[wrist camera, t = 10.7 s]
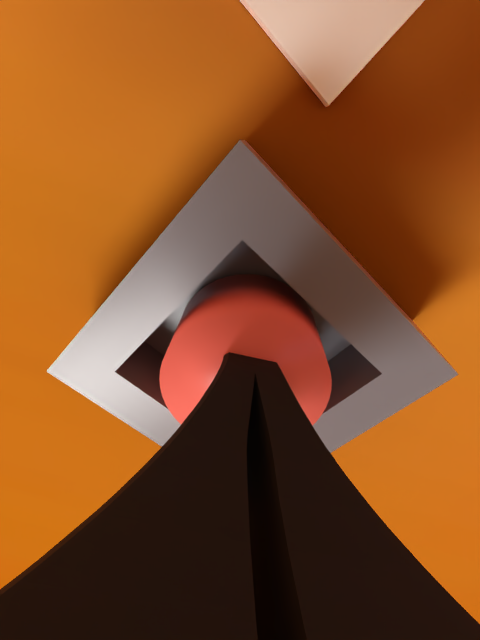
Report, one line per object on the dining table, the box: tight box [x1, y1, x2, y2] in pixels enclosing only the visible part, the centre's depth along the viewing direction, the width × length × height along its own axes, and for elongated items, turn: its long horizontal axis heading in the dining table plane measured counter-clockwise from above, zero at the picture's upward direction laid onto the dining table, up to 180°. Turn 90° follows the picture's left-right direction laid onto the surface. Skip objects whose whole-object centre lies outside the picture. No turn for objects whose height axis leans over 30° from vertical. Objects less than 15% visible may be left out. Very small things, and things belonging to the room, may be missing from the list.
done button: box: [159, 274, 332, 426], centre depth 10 cm, size 4×4×2 cm
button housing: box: [47, 140, 458, 453], centre depth 11 cm, size 8×8×3 cm
